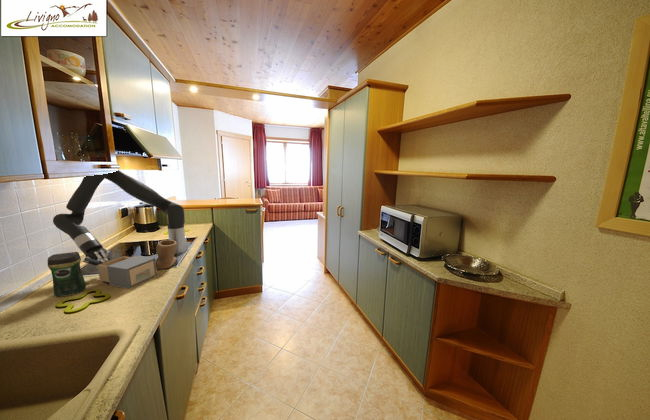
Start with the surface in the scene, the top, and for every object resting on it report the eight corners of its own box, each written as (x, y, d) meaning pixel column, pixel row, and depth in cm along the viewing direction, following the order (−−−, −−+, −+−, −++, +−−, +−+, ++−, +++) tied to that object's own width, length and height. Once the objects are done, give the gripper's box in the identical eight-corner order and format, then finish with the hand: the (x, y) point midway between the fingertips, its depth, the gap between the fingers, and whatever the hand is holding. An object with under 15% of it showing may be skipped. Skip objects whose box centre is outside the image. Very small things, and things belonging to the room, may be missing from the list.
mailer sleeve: (139, 272, 124) (136, 255, 122) (157, 275, 121) (155, 257, 119) (110, 285, 110) (106, 266, 108) (129, 288, 108) (126, 269, 106)
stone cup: (175, 269, 129) (172, 243, 127) (150, 271, 126) (147, 245, 123) (182, 259, 143) (180, 236, 141) (160, 260, 140) (157, 237, 137)
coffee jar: (89, 285, 110) (82, 249, 106) (82, 293, 103) (74, 254, 100) (60, 290, 105) (52, 252, 102) (50, 299, 98) (42, 258, 95)
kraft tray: (125, 270, 124) (123, 256, 123) (155, 274, 120) (153, 260, 118) (99, 280, 113) (97, 265, 111) (131, 285, 108) (129, 270, 107)
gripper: (74, 243, 112) (97, 269, 111) (105, 235, 124) (126, 259, 124) (68, 252, 114) (91, 278, 113) (100, 244, 126) (120, 267, 126)
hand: (109, 268), depth 119 cm, fingers closed
